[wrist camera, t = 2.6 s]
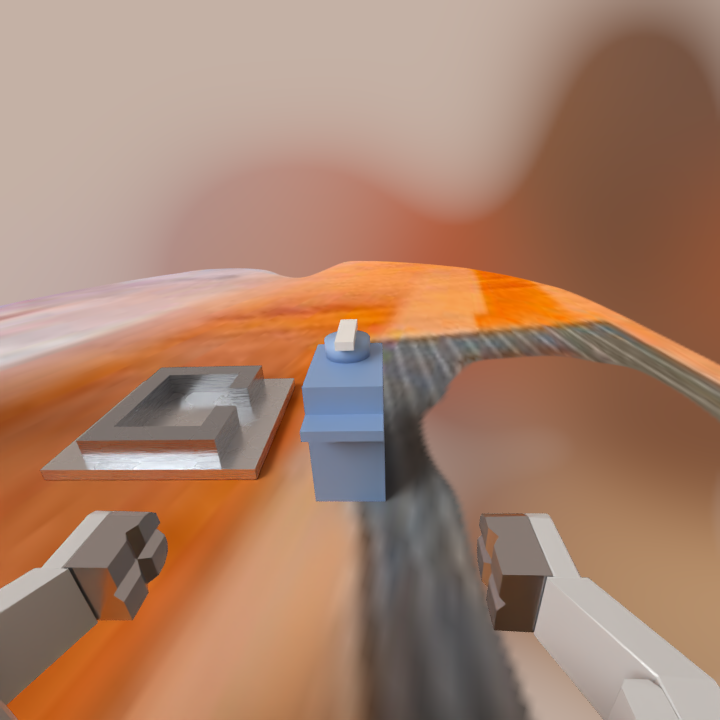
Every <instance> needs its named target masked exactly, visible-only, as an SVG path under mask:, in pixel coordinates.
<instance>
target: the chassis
mask: <svg viewBox="0 0 720 720" xmlns="http://www.w3.org/2000/svg"><path fill="white" fill-rule="evenodd" d="M294 388H295V380H294V378H289V379H264V376H263V370H262V366H219V367H172V368H160V369H159V370H158V371H157V372H156V373H155V374H153V375H152V376H151V377H150V378H149V379H148V380H146V381H144V382H143V383H142V384H140V385H139V386H138V387H137V388H136V389H135V390H133V391H132V392H131V393H130V394H129V395H127V396H126V397H125V398H124V399H123V400H122V401H120V402H119V403H118V404H117V405H116V406H115V407H113V408H112V409H111V410H110V411H109V412H108V413H106V414H105V415H104V416H103V417H102V418H100V419H99V420H98V421H97V422H96V423H95V424H93V425H92V426H91V427H90V428H89V429H88V430H86V431H85V432H84V433H83V434H82V435H80V436H79V437H78V438H77V439H76V440H75V441H73V442H72V443H71V444H70V445H69V446H68V447H66V448H65V449H64V450H63V451H62V452H61V453H59V454H58V455H57V456H56V457H55V458H53V459H52V460H51V461H50V462H49V463H48V464H46V465H45V466H44V467H43V468H42V469H41V470H40V471H41V473H42V475H43V477H44V479H45V480H205V479H257V478H258V475H259V473H260V470H261V468H262V466H263V463H264V461H265V458H266V456H267V454H268V451H269V449H270V446H271V444H272V441H273V439H274V437H275V434H276V432H277V429H278V427H279V425H280V422H281V420H282V417H283V415H284V412H285V410H286V408H287V405H288V403H289V400H290V398H291V396H292V393H293V391H294Z"/></svg>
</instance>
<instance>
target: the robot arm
mask: <svg viewBox="0 0 720 720" xmlns="http://www.w3.org/2000/svg"><path fill="white" fill-rule="evenodd" d="M159 524H160V521H159V519H158V517H157V514H156V513H152V512H130V511H94V512H93V513H91V514H89V515H88V516H87V517H86V518H85V519H84V520H83V521H82V522H81V523H80V525H79V526H78V527H77V528H76V529H75V530H74V531H73V532H72V534H71V535H70V536H69V537H68V538H67V539H66V540H65V541H64V543H63V544H62V545H61V546H60V547H59V548H58V549H57V550H56V552H55V553H54V554H53V555H52V556H51V557H50V558H49V560H48V561H47V562H46V563H45V564H44V565H43V566H42V567H41V568H34V569H32V570H31V571H29V572H27V573H26V574H24V575H22V576H21V577H19V578H18V579H16V580H14V581H13V582H11V583H9V584H8V585H6V586H4V587H3V588H1V589H0V720H18V719H17V718H16V717H15V716H14V714H13V713H12V712H11V711H10V710H9V708H8V707H7V706H6V705H7V704H8V703H9V702H10V701H11V700H13V699H14V698H15V697H16V696H17V695H18V694H19V693H20V692H21V691H23V690H24V689H25V688H26V687H27V686H28V685H29V684H30V683H31V682H32V681H34V680H35V679H36V678H37V677H38V676H39V675H40V674H41V673H42V672H44V671H45V670H46V669H47V668H48V667H49V666H50V665H51V664H52V663H54V662H55V661H56V660H57V659H58V658H59V657H60V656H61V655H62V654H64V653H65V652H66V651H67V650H68V649H69V648H70V647H71V646H72V645H74V644H75V643H76V642H77V641H78V640H79V639H80V638H81V637H82V636H84V635H85V634H86V633H87V632H88V631H89V630H90V629H91V628H92V627H93V626H95V625H96V624H97V623H98V621H97V620H133V619H134V617H135V615H136V614H137V612H138V610H139V608H140V607H141V605H142V603H143V601H144V600H145V598H146V596H147V594H148V593H149V592H148V583H149V582H150V581H151V580H153V579H154V578H155V577H157V576H158V575H159V573H160V571H161V569H162V568H163V566H164V564H165V560H166V556H167V552H168V546H167V540H166V537H165V535H164V534H163V533H161V532H160V531H159V530H158V529H157V527H158V526H159ZM479 526H480V529H481V533H482V535H481V536H480V537H479V538H478V543H477V557H478V566H479V571H480V576H481V580H482V582H483V583H484V584H485V585H486V586H487V587H488V590H487V599H486V601H487V604H488V608H489V612H490V616H491V620H492V624H493V628H494V630H501V631H519V632H534V635H535V637H536V638H537V639H538V640H539V642H540V643H541V644H542V645H543V646H544V647H545V649H546V650H547V651H548V653H549V654H550V655H551V656H552V657H553V659H554V660H555V661H556V662H557V664H558V665H559V666H560V667H561V668H562V670H563V671H564V672H565V673H566V674H567V676H568V677H569V678H570V679H571V680H572V682H573V683H574V684H575V685H576V687H577V688H578V689H579V690H580V692H581V693H582V694H583V695H584V696H585V698H586V699H587V700H588V701H589V703H591V705H592V706H593V707H594V709H595V710H596V711H597V712H598V713H599V715H600V716H601V717H602V718H603V720H720V687H719V686H718V684H717V683H716V681H715V680H714V679H713V678H711V677H710V676H709V675H708V674H706V673H705V672H704V671H703V670H701V669H700V668H699V667H698V666H696V665H695V664H694V663H693V662H692V661H690V660H689V659H688V658H686V657H685V656H684V655H683V654H682V653H680V652H679V651H678V650H677V649H676V648H674V647H673V646H672V645H671V644H669V643H668V642H667V641H666V640H665V639H663V638H662V637H661V636H659V635H658V634H657V633H656V632H654V631H653V630H652V629H651V628H650V627H648V626H647V625H646V624H645V623H643V622H642V621H641V620H640V619H639V618H637V617H636V616H635V615H634V614H632V613H631V612H630V611H629V610H627V609H626V608H625V607H624V606H623V605H621V604H620V603H619V602H617V601H616V600H615V599H614V598H613V597H611V596H610V595H609V594H608V593H606V592H605V591H604V590H603V589H601V588H600V587H599V586H598V585H597V584H595V583H594V582H593V581H592V580H591V579H589V578H585V577H581V576H580V574H579V572H578V570H577V568H576V567H575V564H574V562H573V560H572V558H571V556H570V554H569V553H568V550H567V549H566V546H565V544H564V542H563V541H562V538H561V537H560V534H559V532H558V530H557V529H556V527H555V525H554V523H553V521H552V519H551V517H550V516H549V515H548V514H522V513H516V514H515V513H508V514H507V513H503V514H482V515H481V517H480V524H479Z"/></svg>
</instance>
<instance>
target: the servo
mask: <svg viewBox="0 0 720 720" xmlns="http://www.w3.org/2000/svg"><path fill="white" fill-rule="evenodd" d="M324 341H325V344H321V345H318V346H317V349H316V351H315V354H314V357H313V359H312V362H311V365H310V367H309V370H308V373H307V375H306V378H305V380H304V383H303V386H302V394H303V401H304V409H305V417H304V420H303V423H302V427H301V430H300V437H301V442H309V449H310V457H311V465H312V473H313V481H314V489H315V497H316V501H386V499H385V436H384V394H383V352H382V343H370V336H369V335H368V334H367V333H365V332H362V331H357V319H349V320H341V321H340V324H339V328H338V331H337V332H334V333H331V334H329V335H327V336H326V337H325V339H324Z"/></svg>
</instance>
